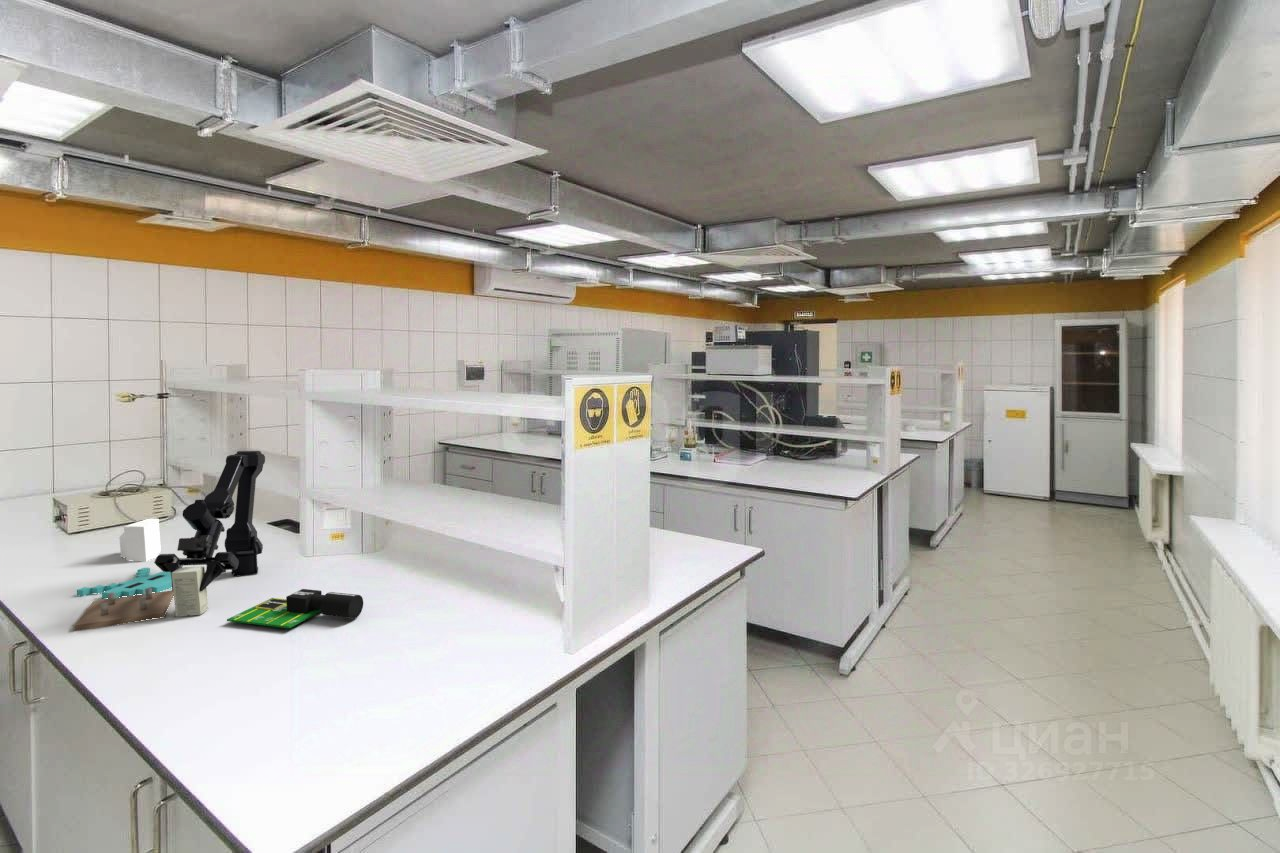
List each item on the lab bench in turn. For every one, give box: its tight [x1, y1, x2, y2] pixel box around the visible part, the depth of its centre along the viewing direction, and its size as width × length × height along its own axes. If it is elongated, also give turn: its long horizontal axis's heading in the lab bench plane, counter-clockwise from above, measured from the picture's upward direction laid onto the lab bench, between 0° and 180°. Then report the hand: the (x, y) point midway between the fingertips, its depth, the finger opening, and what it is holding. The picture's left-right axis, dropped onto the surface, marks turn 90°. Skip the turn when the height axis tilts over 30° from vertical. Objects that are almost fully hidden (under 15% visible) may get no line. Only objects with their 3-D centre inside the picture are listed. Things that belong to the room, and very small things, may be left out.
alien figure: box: [76, 567, 172, 598], centre depth 188 cm, size 20×2×20 cm
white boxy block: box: [118, 518, 162, 562], centre depth 216 cm, size 11×11×12 cm
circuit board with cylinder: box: [226, 588, 364, 629], centre depth 166 cm, size 30×7×15 cm
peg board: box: [73, 588, 174, 632], centre depth 170 cm, size 18×18×4 cm
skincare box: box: [172, 565, 209, 617], centre depth 169 cm, size 6×4×12 cm
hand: (187, 591), depth 167 cm, fingers closed on skincare box, 6 cm apart
